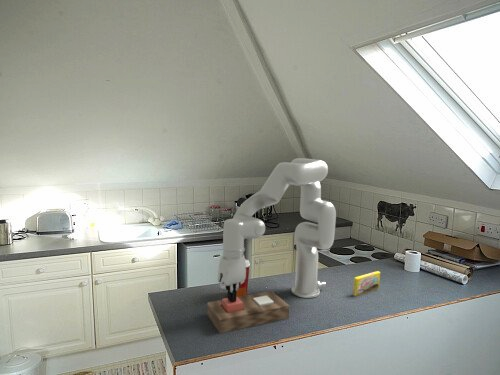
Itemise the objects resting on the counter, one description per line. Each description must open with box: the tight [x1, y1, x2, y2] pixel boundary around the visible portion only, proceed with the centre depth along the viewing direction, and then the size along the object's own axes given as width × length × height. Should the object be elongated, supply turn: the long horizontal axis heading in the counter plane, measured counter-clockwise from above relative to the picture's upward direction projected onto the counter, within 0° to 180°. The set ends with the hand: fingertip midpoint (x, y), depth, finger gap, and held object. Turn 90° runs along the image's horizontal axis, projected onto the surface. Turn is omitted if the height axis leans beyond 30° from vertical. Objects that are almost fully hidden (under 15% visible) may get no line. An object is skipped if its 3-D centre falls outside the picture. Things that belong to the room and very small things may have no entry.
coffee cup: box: [237, 258, 251, 297], centre depth 157 cm, size 8×8×15 cm
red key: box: [221, 297, 243, 313], centre depth 135 cm, size 6×6×3 cm
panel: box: [206, 290, 290, 334], centre depth 139 cm, size 28×14×5 cm, turn 115°
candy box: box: [352, 270, 382, 297], centre depth 163 cm, size 16×2×8 cm, turn 124°
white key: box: [253, 296, 274, 307], centre depth 141 cm, size 6×6×3 cm
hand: (231, 300), depth 135 cm, fingers closed
